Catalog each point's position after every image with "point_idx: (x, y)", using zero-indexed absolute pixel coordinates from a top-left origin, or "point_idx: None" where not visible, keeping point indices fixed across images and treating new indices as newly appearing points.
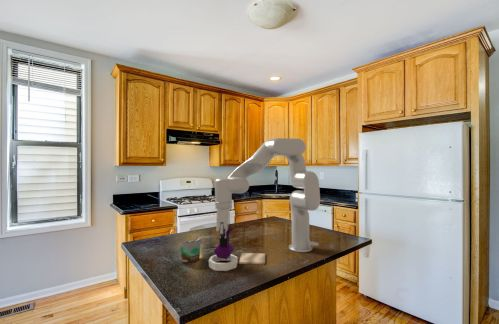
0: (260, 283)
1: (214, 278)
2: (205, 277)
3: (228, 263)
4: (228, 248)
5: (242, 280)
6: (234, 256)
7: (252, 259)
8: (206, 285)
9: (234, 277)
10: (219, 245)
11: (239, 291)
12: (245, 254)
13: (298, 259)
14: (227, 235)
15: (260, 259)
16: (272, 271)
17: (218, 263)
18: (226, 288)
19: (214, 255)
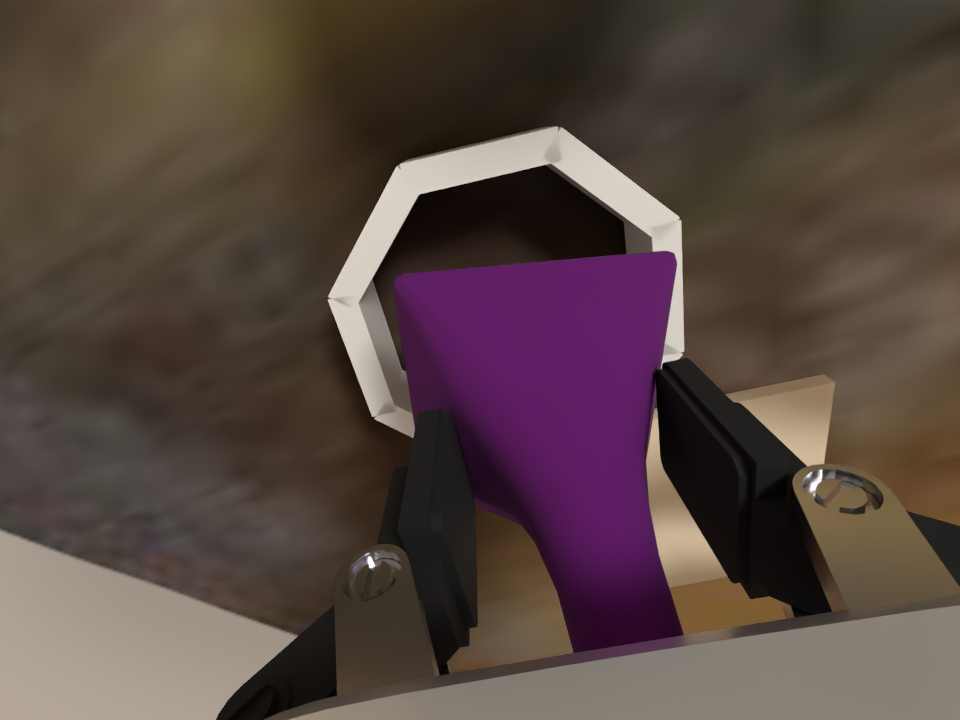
0: (290, 627)
1: (188, 343)
2: (156, 252)
3: (394, 427)
4: None
5: (274, 536)
6: None
7: (657, 513)
8: (31, 335)
9: (292, 477)
10: (456, 392)
11: (120, 564)
12: (787, 428)
13: None
14: (576, 652)
15: (663, 562)
16: (488, 642)
17: (348, 334)
18: (99, 487)
19: (594, 164)
